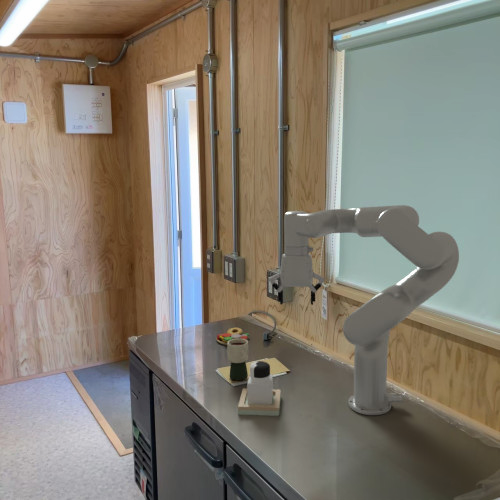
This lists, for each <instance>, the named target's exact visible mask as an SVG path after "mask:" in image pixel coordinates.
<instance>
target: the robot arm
mask: <svg viewBox="0 0 500 500" xmlns="http://www.w3.org/2000/svg"><path fill="white" fill-rule="evenodd" d="M419 217H420V216H419V213H418V212H417V210H416V209H415V208H414V207H412V206H409V205H407V204H406V205H404V204H401V205H400V204H399V205H383V206H364V207H363V206H362V207H357V208H356V207H355V208H352V207H351V208H335V209H325V210H320V211H315V212H312V213H311V212H310V213H308V212H306V211H302V210H292V211H287V212H285V213H284V218H283V219H284V220H283V224H284V226H283V227H284V229H283V230H284V240H283V241H284V253H283V254H281V261H280V262H281V263H280V272H278V273H276V274H274V275H272V276H270V277H269V279H268V280H269V282H270V284H271V286H272V288H274V289H275V290H276V291H277V293H278V294H277V301H278V302H280V305H283V304H284V291H283V289H285V287H286V288H287V287H288V288H289V287H291V288H295V287H296V288H301V287H302V288H309V289H310V305H312V306H313V305H314V302H316V292H317V291H318V290H319V289H320V288H321V287H322V285H323V283H324V281H325V278H324V276H322V275H319V274H318V273H315V272H313V271H314V270H313V259H312V254H311V253H310V252H314V247H313V246H309V244H310V243H309V241H310V240H309V239H310V238H311V239H317V238H321V237H324V236H327V235H330V234H342V233H344V234H345V233H349V234H350V233H352V234H358V237H361V238H374V237H375V238H376V237H378V238H379V237H383V239H384V240H385V241H386V242H387V243H388V244H390V246H392V247H393V249H395V250H396V251H397V252H399V253H400V254H401V255H402V256H404V258H406V259H407V260H408V261H409V262H410V263H412V264H413V265H414V266H416V268H415V269H413V270H412V271H410V272H409V273H408V274H407V275H406V276H405V277H402V279H400V280H398V281H397V282H396V283H394V284H393V285H390V286H388V287H386V288H384V289H382V290H381V291H380V292H378V293H376V295H374V296H373V297H371V298H370V299H369V300H367V301H366V302H365V303H364V304H362V305H361V306H360V307H358V308H357V309H356V310H354V311H353V312H352V313H350V314H349V315H348V316H347V317H346V318H345V320H344V322H343V326H342V332H343V336H344V338H345V339H346V341H348V343H350V344H352V345H353V346H354V361H353V362H354V363H353V364H354V365H353V366H354V370H353V394H352V395H351V396H350V397H349V398H348V402H347V403H348V407H349V408H350V409H351V410H352V411H354V412H356V413H359V414H361V415H367V416H381V415H384V414H387V413H388V412H390V410H391V408H392V403H395V404H403V396H401V395H398V394H397V393H396V392H394V393H391V392H390V393H389V392H388V391H387V380H388V379H387V372H388V351H389V350H388V349H389V339H390V333H391V332H390V331H391V330H392V329H394V328H395V327H396V326H398V325H399V324H401V323H402V322H403V321H404V320H405V319H406V318H407V317H409V316H410V315H411V313H413V312H414V310H416V309H417V308H418V307H419V306H421V305H423V304H424V303H425V302H426V301H428V300H429V299H431V297H433V296H435V295H436V294H437V293H439V292H440V291H441V290H442V289H443V288H444V287H445V286H446V285H447V284H448V283H449V282H450V281H451V279H453V276H455V273H456V271H457V268H458V264H459V260H460V250H459V247H458V244H457V241H456V239H455V238H454V236H452V235H451V234H449V233H447V232H444V231H434V232H431V233H428V232H426V231H425V230H424V229H422V228H421V227H420V226H419V224H420V218H419ZM277 279H280V284H277V283H276V280H277ZM314 279H316V280H318V282H317V283H316V284H313V282H314ZM397 395H398V396H397Z"/></svg>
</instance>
